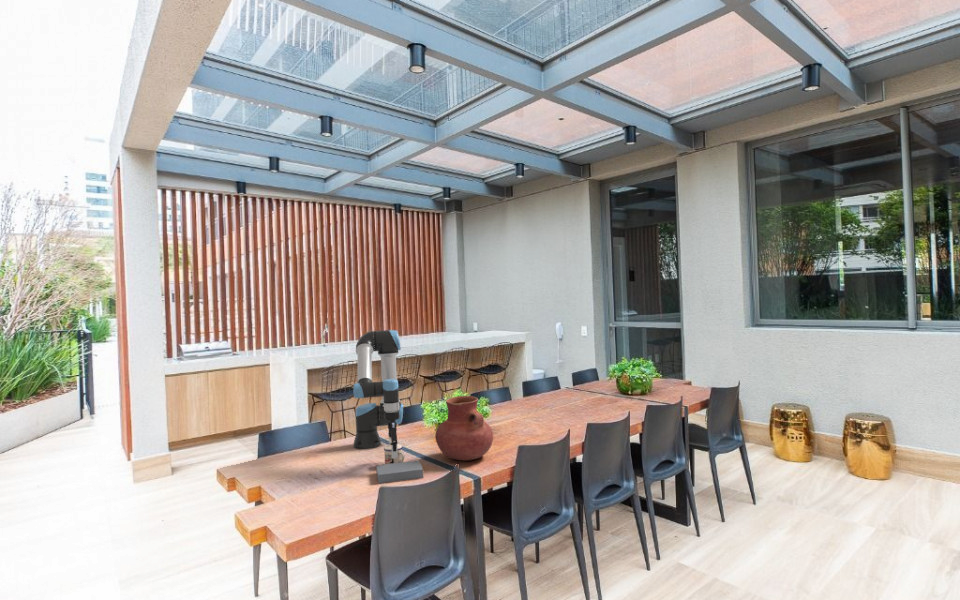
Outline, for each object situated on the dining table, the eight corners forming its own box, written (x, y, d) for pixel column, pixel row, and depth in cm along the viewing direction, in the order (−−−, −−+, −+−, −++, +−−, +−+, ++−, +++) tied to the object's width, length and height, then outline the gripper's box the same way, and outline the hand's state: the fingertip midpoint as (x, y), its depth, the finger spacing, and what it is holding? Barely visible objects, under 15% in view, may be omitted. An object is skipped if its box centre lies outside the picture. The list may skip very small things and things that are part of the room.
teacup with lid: (380, 466, 247) (379, 442, 247) (394, 461, 254) (393, 438, 254) (397, 470, 239) (396, 446, 239) (411, 465, 247) (410, 441, 247)
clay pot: (425, 458, 257) (422, 399, 257) (469, 445, 276) (466, 391, 276) (461, 471, 234) (458, 407, 235) (506, 456, 254) (503, 397, 254)
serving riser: (376, 473, 236) (376, 465, 236) (419, 468, 241) (418, 460, 241) (378, 484, 222) (378, 475, 222) (423, 478, 227) (423, 469, 227)
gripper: (382, 407, 259) (383, 448, 258) (386, 416, 235) (387, 462, 234) (396, 405, 261) (398, 446, 260) (402, 414, 237) (404, 460, 236)
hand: (393, 454), depth 247 cm, fingers open, 13 cm apart
